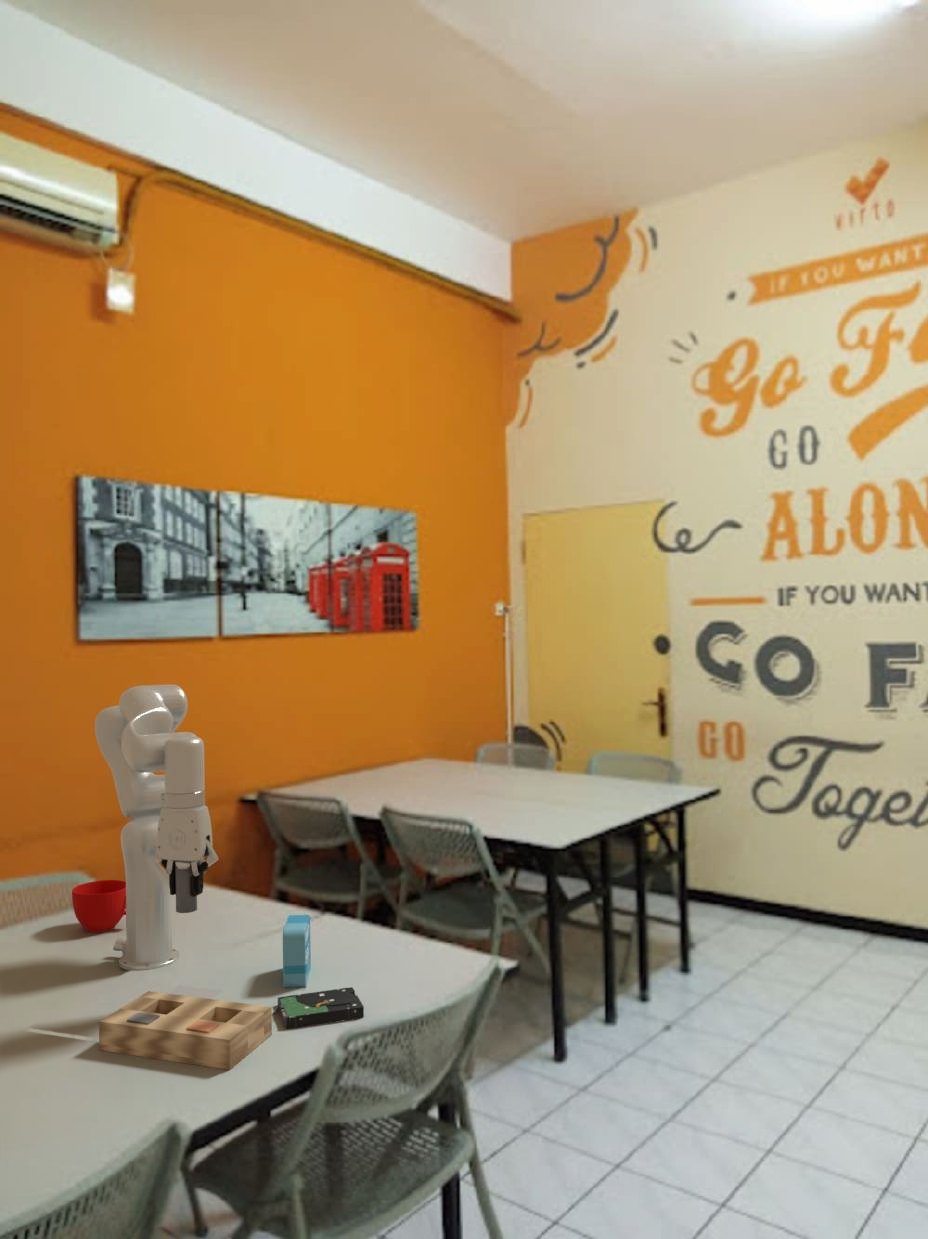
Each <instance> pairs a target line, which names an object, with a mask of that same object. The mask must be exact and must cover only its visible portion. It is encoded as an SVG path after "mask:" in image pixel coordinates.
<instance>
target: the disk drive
mask: <svg viewBox="0 0 928 1239" xmlns="http://www.w3.org/2000/svg"><path fill="white" fill-rule="evenodd" d="M277 1010H278V1013H279V1016H280V1018H281V1021H282V1025H283V1027H284V1030H290V1029H299V1028H304V1027H311V1026H312V1027H313V1026H317V1025H324V1024H325V1023H326V1024H332V1023H337V1022H336V1021H339V1022H343V1021H342V1020H346V1021H353V1020H358V1018H359V1019H364V1018H363V1017H364V1016H365V1015H364V1005H363V1003H362V1001H361V1000H360V998H359V996H358V995H357V994H356V993H355V989H354V988H353V987H342V988H337V989H336V988H335V989H329V990H322V991H316V992H307V993H301V994H293V995H287V996H280V997H277ZM352 1019H353V1020H352ZM331 1022H332V1023H331ZM326 1024H325V1025H326Z"/></svg>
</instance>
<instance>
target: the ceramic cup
mask: <svg viewBox="0 0 928 1239" xmlns="http://www.w3.org/2000/svg"><path fill="white" fill-rule="evenodd" d="M71 899H72V900H71V902H72V907H73V912H74V915H75V918H76V919H77V921H78V923H79V924H80V925H81V926H82V927H83V928H84V929H85V930H86V932H89V931H90V932H89V933H103V932H102V931H104V932H107V931H106V930H108V931H110V930H113V929H115V928H116V926H118V924H119V923H120V922H121V920H122V918H124V916H126V880H120V879H118V880H117V879H103V880H94V881H89V882H84V883H82V884H79V885H76V886H74V887H73V889H72V890H71Z"/></svg>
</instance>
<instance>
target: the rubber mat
mask: <svg viewBox="0 0 928 1239" xmlns="http://www.w3.org/2000/svg"><path fill="white" fill-rule="evenodd" d="M221 992H223V990H220V989H213V988H206V987H205V988H204V987H196V986H187V985H181V984H180V985H179V984H178V985H177V986H175V987H174V988H172V989H170V990H169V991H168V992H166V993H167V994H175V995H183V996H190V997H198V998H206V999H212V998H214V997H215V996H217V995H218V994H220V993H221Z"/></svg>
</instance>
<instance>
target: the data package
mask: <svg viewBox="0 0 928 1239" xmlns="http://www.w3.org/2000/svg"><path fill="white" fill-rule="evenodd" d="M311 955H312V954H311V915H310V914H293V915H292V914H291V915H287V918H286V922H285V925H284V928H283V931H282V981H283V982H282V986H283V988H301V987H302V988H306V987H307V983H308V979H309V975H310V971H311V965H312V964H311V962H312V961H311Z"/></svg>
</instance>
